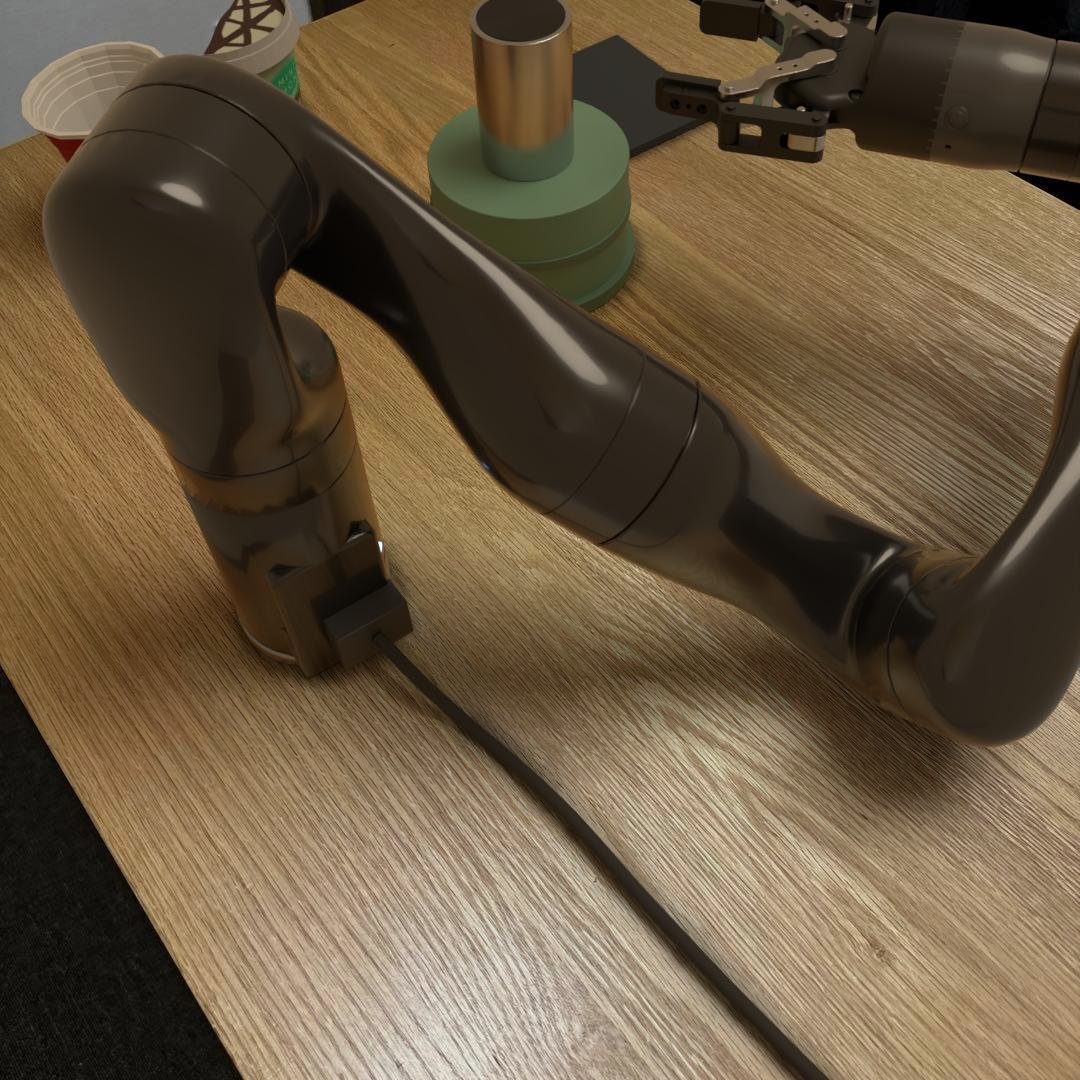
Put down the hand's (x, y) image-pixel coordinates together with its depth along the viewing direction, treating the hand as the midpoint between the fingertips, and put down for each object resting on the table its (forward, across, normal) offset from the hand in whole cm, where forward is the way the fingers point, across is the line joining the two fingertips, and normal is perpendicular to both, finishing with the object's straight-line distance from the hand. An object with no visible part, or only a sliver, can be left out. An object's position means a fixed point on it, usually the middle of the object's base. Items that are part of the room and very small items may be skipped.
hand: (680, 50), depth 72 cm
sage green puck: (+11, 0, -18) cm, 21 cm away
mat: (+12, +20, -18) cm, 30 cm away
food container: (+37, +7, -18) cm, 42 cm away
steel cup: (+11, 0, -9) cm, 14 cm away
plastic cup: (+41, -6, -18) cm, 45 cm away
